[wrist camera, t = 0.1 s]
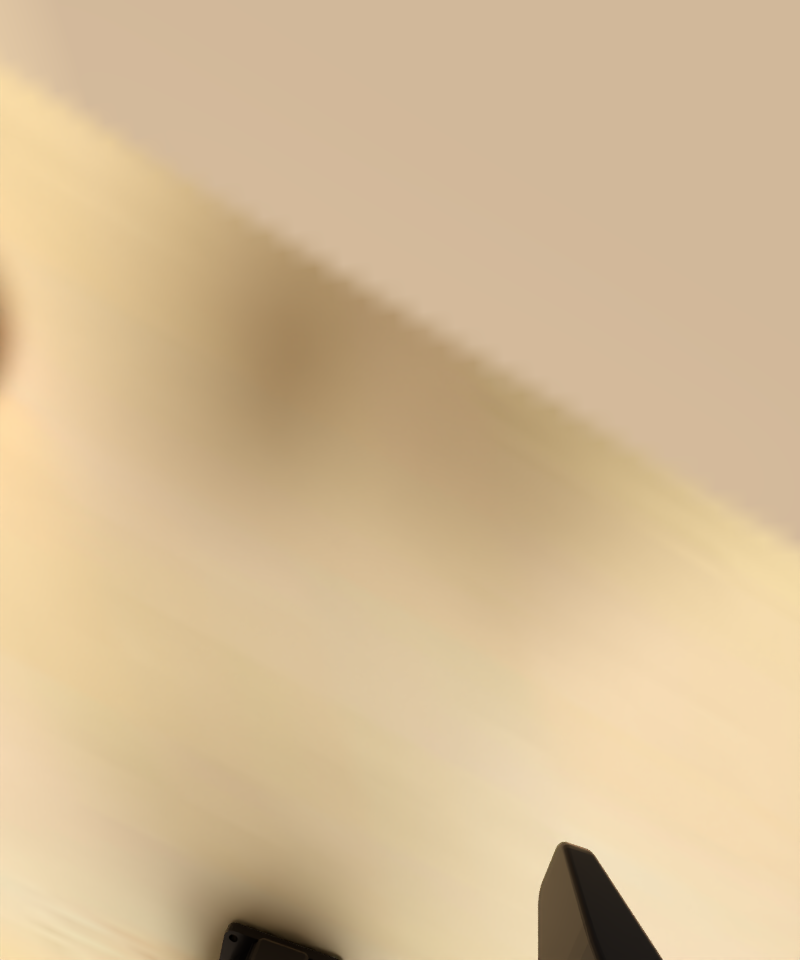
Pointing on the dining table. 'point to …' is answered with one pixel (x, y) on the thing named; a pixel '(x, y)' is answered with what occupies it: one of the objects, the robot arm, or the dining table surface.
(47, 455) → the dining table surface
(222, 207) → the dining table surface
